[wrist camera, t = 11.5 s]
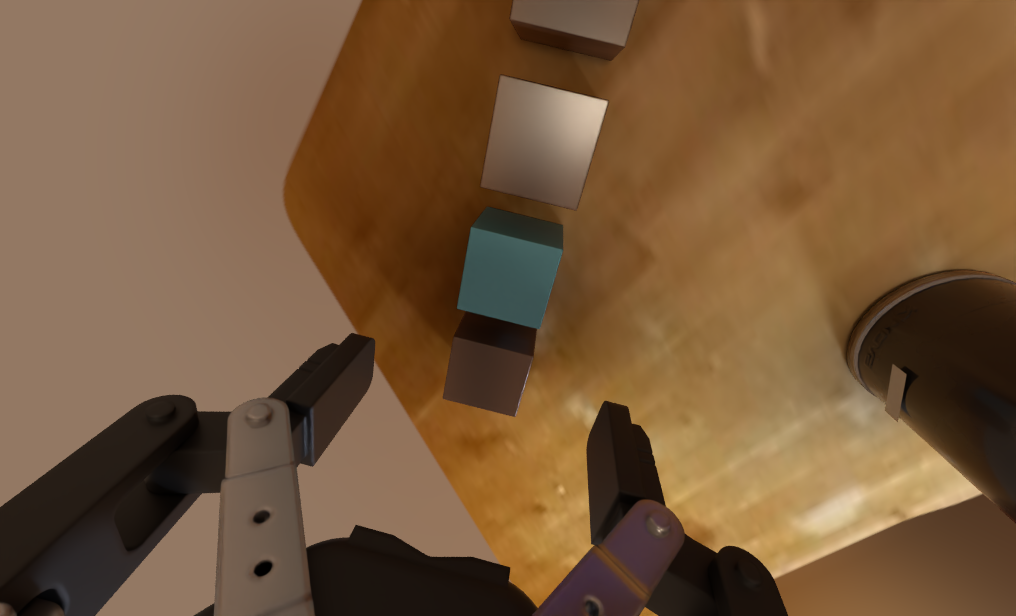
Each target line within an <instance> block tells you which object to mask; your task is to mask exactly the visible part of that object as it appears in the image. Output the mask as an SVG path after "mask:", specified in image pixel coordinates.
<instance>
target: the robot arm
mask: <svg viewBox="0 0 1016 616" xmlns="http://www.w3.org/2000/svg"><path fill="white" fill-rule="evenodd" d="M374 353H375V340H374V339H373V338H369V337H366V336H362V335H358V334H354V333H351V334H350V335H349V336H348V337H347V338H346V339H345V340H344V341H343V342H342V343H341V344H340V345H337V344H333V343H332V344H329V345H327V346H325V347H323V348H321V349H318V350H317V351H316V352H315V353H314V354H313V355H312V356H311V357H310V358H309V359H308V360H307V361H305V362H304V363H303V364H302V365H301V366H300V367H299V369H297V370H296V371H295V372H294V373H293V374H292V375H291V376H290V377H289V378H288V379H287V380H285V381H284V382H283V383H282V384H281V385H280V386H279V387H278V388H277V389H276V390H275V391H274V392H273V393H272V394H271V395H270V396H269V397H268V398H257V399H253V400H250V401H247V402H245V403H243V404H241V405H239V406H238V407H236V408H235V409H234V410H233V411H232V412H198V411H197V408H196V404H195V402H194V401H193V400H192V399H191V398H189V397H186V396H182V395H166V396H160V397H156V398H153V399H150V400H147V401H145V402H143V403H141V404H139V405H138V406H136V407H134V408H133V409H132V410H130V411H129V412H128V413H126V414H125V415H124V416H122V417H121V418H120V419H118V420H117V421H116V422H114V423H113V424H111V425H110V426H109V427H108V428H106V429H105V430H103V431H102V432H101V433H99V434H98V435H97V436H95V437H94V438H93V439H91V440H90V441H89V442H87V443H86V444H85V445H83V446H82V447H81V448H79V449H78V450H77V451H75V452H74V453H72V454H71V455H70V456H69V457H67V458H66V459H65V460H63V461H62V462H60V463H59V464H58V465H57V466H55V467H54V468H52V469H51V470H50V471H48V472H47V473H46V474H45V475H43V476H42V477H40V478H39V479H38V480H36V481H35V482H34V483H32V484H31V485H29V486H28V487H27V488H25V489H24V490H23V491H21V492H20V493H19V494H17V495H16V496H15V497H13V498H12V499H11V500H9V501H8V502H7V503H5V504H4V505H3V506H1V507H0V616H95V615H96V614H97V613H98V612H99V611H100V609H101V608H102V607H103V606H104V604H106V602H107V601H108V600H109V599H110V598H111V597H112V596H113V594H114V593H115V592H116V591H117V590H118V589H119V588H120V586H121V585H122V584H123V583H124V582H125V581H126V580H127V578H128V577H129V576H130V575H131V574H132V573H133V572H134V570H135V569H136V568H137V567H138V566H139V565H140V564H141V562H142V561H143V560H144V559H145V558H146V557H147V556H148V554H149V553H150V552H151V551H152V550H153V549H154V548H155V546H156V545H157V544H158V543H159V542H160V540H161V539H162V538H163V537H164V536H165V535H166V534H167V533H168V532H169V530H170V529H171V528H172V527H173V526H174V525H175V524H176V522H177V521H178V520H179V519H180V518H181V517H182V515H183V514H184V513H185V512H186V511H187V510H188V509H189V508H190V506H191V505H192V504H193V503H194V502H195V501H196V499H197V498H198V497H199V496H200V495H201V494H202V493H220V510H219V529H218V548H217V567H216V585H215V603H214V604H212V605H210V606H209V607H207V608H205V609H204V610H203V611H201V612H199V613H198V614H196V615H194V616H639V615H640V614H641V612H642V610H643V609H644V607H646V608H648V609H649V610H651V611H652V612H654V613H655V614H657V615H658V616H788V614H787V612H786V609H785V606H784V604H783V601H782V599H781V596H780V593H779V591H778V588H777V586H776V583H775V581H774V579H773V577H772V575H771V574H770V572H769V571H768V570H767V568H766V567H765V566H764V565H763V564H762V563H761V562H760V561H759V560H758V559H757V558H756V557H754V556H753V555H752V554H750V553H749V552H747V551H745V550H743V549H741V548H739V547H735V546H726V547H723V548H722V549H721V550H720V551H719V552H718V553H716V552H714V551H713V550H711V549H709V548H707V547H706V546H704V545H702V544H700V543H699V542H697V541H695V540H693V539H692V538H690V537H689V536H687V535H686V534H685V533H684V529H683V527H682V524H681V523H680V521H679V519H678V518H677V517H676V515H675V514H674V513H673V512H672V511H671V510H670V509H668V508H667V507H666V505H665V501H664V497H663V493H662V489H661V485H660V481H659V477H658V473H657V468H656V466H655V460H654V456H653V455H652V448H651V444H650V440H649V438H648V436H647V435H646V433H645V432H644V430H643V429H642V428H641V426H639V425H636V424H632V423H631V418H630V413H629V409H628V407H627V406H624V405H620V404H616V403H612V402H609V401H604V402H603V404H602V406H601V408H600V411H599V413H598V415H597V418H596V420H595V422H594V425H593V427H592V429H591V432H590V434H589V438H588V442H587V471H588V490H589V509H590V528H591V544H593V545H594V546H593V547H592V548H591V549H590V550H589V551H588V553H587V554H586V555H585V556H584V557H583V558H582V559H581V561H580V562H579V563H578V564H577V565H576V566H575V567H574V568H573V570H572V571H571V572H570V573H569V574H568V575H567V576H566V577H565V579H564V580H563V581H562V582H561V583H560V584H559V585H558V586H557V588H556V589H555V590H554V591H553V592H552V593H551V594H550V595H549V597H548V598H547V599H546V600H545V601H544V602H543V603H542V605H541V606H540V607H539V608H537V607H536V605H535V604H534V603H533V602H532V600H531V599H530V598H529V597H528V596H527V595H526V594H525V593H524V592H523V591H522V590H520V589H519V588H518V587H517V586H515V585H514V584H512V583H511V582H509V574H510V567H507V566H503V565H500V564H496V563H492V562H489V561H485V560H481V559H478V558H474V557H430V556H427V555H425V554H424V553H422V552H420V551H419V550H417V549H415V548H414V547H412V546H410V545H409V544H407V543H405V542H404V541H402V540H401V539H399V538H397V537H396V536H394V535H391V534H387V533H384V532H379V531H376V530H373V529H369V528H366V527H362V526H358V525H356V526H355V527H354V529H353V531H352V533H351V535H350V537H349V538H336V539H330V540H326V541H322V542H320V543H317V544H314V545H311V546H309V547H307V548H306V544H305V535H304V527H303V518H302V510H301V501H300V493H299V484H298V476H297V467H298V465H299V464H300V463H301V464H305V465H309V466H314V465H315V463H316V462H317V460H318V459H319V458H320V456H321V455H322V453H323V452H324V451H325V449H326V448H327V446H328V445H329V444H330V442H331V441H332V440H333V438H334V437H335V435H336V434H337V432H338V431H339V430H340V428H341V427H342V425H343V424H344V423H345V421H346V420H347V419H348V417H349V416H350V414H351V413H352V412H353V410H354V409H355V408H356V406H357V405H358V403H359V402H360V401H361V399H362V398H363V396H364V395H365V394H366V392H367V390H368V388H369V386H370V384H371V381H372V377H373V367H374ZM847 361H848V366H849V369H850V371H851V373H852V375H853V376H854V378H855V379H856V380H857V381H858V382H859V383H860V384H861V385H862V386H863V387H864V388H866V389H867V390H868V391H869V392H870V393H871V394H873V395H874V396H876V397H878V398H879V399H880V400H881V401H882V402H883V403H885V404H886V407H885V411H886V412H887V413H888V414H889V415H891V416H892V417H893V418H894V419H895V420H896V421H897V422H898V418H899V417H900V418H901V419H902V420H903V421H904V422H905V423H906V424H907V425H908V426H909V427H910V428H911V429H913V430H914V431H915V432H916V433H917V434H918V435H919V436H920V437H921V438H922V439H924V440H925V441H926V442H927V443H928V444H929V445H930V446H931V447H932V448H933V449H934V450H936V451H937V452H938V453H939V454H940V455H941V456H942V457H943V458H944V459H945V460H947V461H948V462H949V463H950V464H951V465H952V466H953V467H954V468H955V469H956V470H958V471H959V472H960V473H961V474H962V475H963V476H964V477H965V478H966V479H967V480H969V481H970V482H971V483H972V484H973V485H974V486H975V487H976V488H977V489H978V490H980V491H981V492H982V493H983V494H984V495H985V496H986V497H987V498H988V499H990V500H991V501H992V502H993V503H994V504H995V505H996V506H997V507H998V508H999V509H1000V510H1002V511H1003V512H1004V513H1005V514H1006V515H1007V516H1008V517H1009V518H1010V519H1011V520H1012V521H1014V522H1015V523H1016V283H1015V282H1012V281H1010V280H1007V279H1005V278H1002V277H999V276H997V275H994V274H990V273H987V272H981V271H973V270H959V271H949V272H943V273H938V274H934V275H930V276H927V277H923V278H921V279H918V280H915V281H913V282H911V283H908V284H906V285H904V286H902V287H900V288H898V289H897V290H895V291H893V292H892V293H890V294H888V295H887V296H886V297H884V298H883V299H881V300H880V301H879V302H878V303H876V304H875V305H874V306H873V307H872V308H871V309H870V310H869V311H868V312H867V313H866V314H865V315H864V316H863V318H862V319H861V320H860V321H859V323H858V324H857V326H856V327H855V329H854V331H853V333H852V335H851V338H850V340H849V344H848V349H847Z"/></svg>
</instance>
